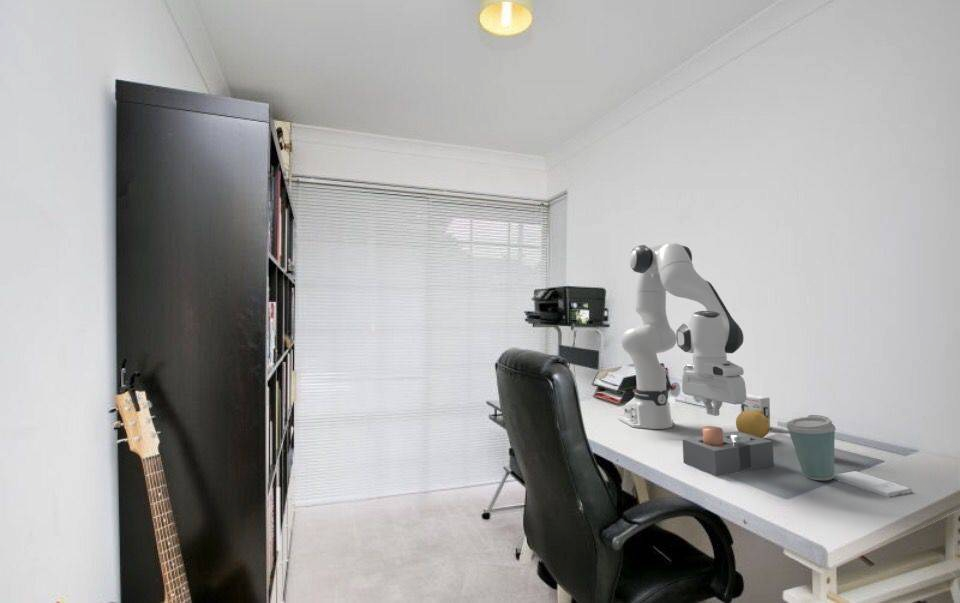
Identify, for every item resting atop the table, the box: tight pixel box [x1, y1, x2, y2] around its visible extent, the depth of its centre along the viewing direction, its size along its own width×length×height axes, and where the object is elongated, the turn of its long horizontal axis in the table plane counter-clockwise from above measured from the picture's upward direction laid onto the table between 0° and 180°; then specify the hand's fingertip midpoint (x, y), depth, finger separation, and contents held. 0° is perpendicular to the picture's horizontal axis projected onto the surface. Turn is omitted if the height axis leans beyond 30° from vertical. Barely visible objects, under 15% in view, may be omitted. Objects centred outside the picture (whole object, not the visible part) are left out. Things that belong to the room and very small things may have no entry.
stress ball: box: [735, 410, 770, 439], centre depth 154 cm, size 10×10×10 cm
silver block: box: [730, 433, 750, 442], centre depth 133 cm, size 5×5×7 cm
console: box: [682, 430, 775, 477], centre depth 131 cm, size 12×21×7 cm, turn 108°
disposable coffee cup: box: [786, 416, 837, 481], centre depth 119 cm, size 11×11×15 cm
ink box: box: [740, 393, 771, 430], centre depth 168 cm, size 9×5×12 cm, turn 24°
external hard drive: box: [833, 470, 913, 498], centre depth 113 cm, size 2×8×12 cm
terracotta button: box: [702, 425, 724, 447], centre depth 130 cm, size 5×5×7 cm
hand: (713, 414), depth 129 cm, fingers closed
